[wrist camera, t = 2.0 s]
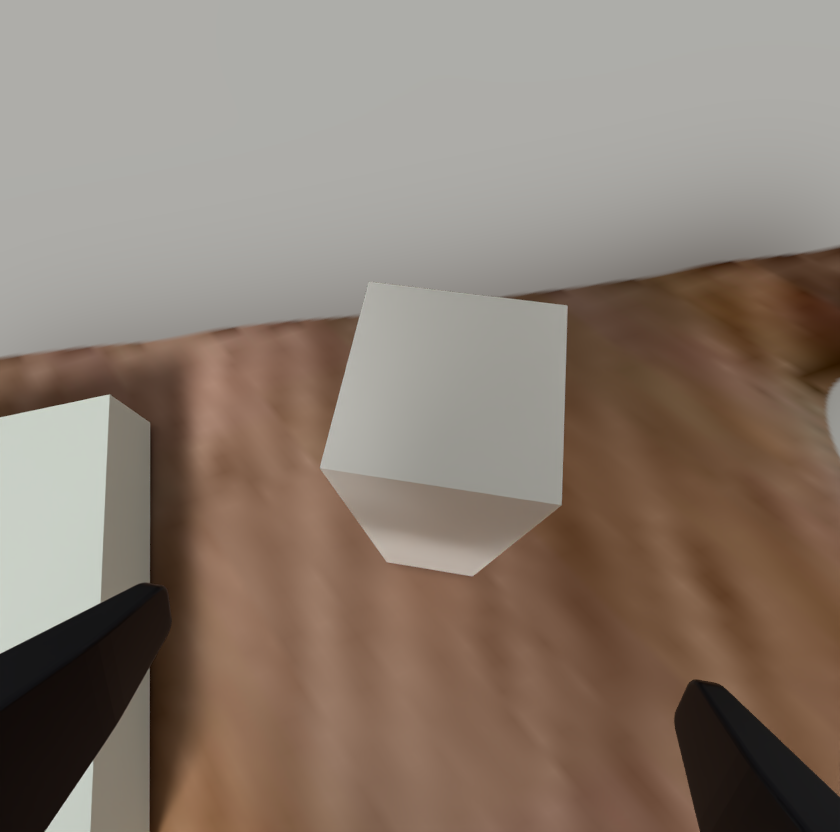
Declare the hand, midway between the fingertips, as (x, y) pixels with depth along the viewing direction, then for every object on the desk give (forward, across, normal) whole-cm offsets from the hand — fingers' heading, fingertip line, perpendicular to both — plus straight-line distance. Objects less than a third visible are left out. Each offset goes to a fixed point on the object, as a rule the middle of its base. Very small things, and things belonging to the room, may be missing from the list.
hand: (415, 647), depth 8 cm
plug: (+10, 0, +5) cm, 12 cm away
